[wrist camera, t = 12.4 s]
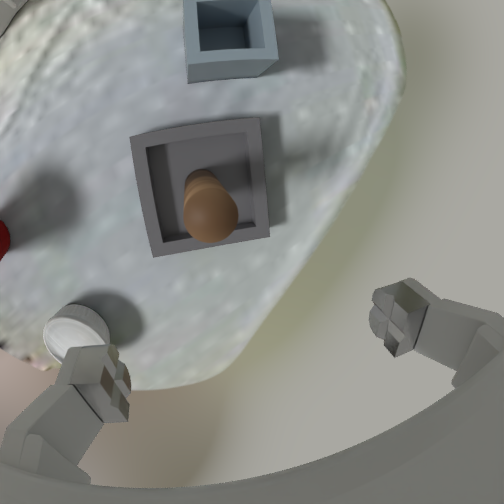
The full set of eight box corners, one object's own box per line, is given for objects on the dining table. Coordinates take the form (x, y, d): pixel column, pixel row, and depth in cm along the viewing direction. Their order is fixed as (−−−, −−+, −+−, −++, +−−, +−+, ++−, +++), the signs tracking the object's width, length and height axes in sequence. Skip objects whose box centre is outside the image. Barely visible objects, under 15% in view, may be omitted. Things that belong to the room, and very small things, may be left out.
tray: (134, 137, 29) (129, 136, 26) (253, 119, 31) (259, 117, 29) (155, 248, 35) (153, 257, 32) (263, 229, 37) (270, 236, 35)
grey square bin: (183, 26, 24) (183, -6, 16) (249, 22, 26) (269, -8, 18) (187, 83, 28) (187, 64, 20) (256, 77, 29) (278, 59, 21)
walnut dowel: (182, 172, 31) (178, 194, 19) (215, 166, 32) (235, 185, 19) (187, 204, 33) (188, 247, 20) (219, 198, 33) (241, 237, 21)
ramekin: (51, 337, 36) (41, 357, 32) (57, 286, 34) (44, 305, 29) (108, 360, 40) (103, 382, 36) (121, 313, 38) (115, 335, 33)
